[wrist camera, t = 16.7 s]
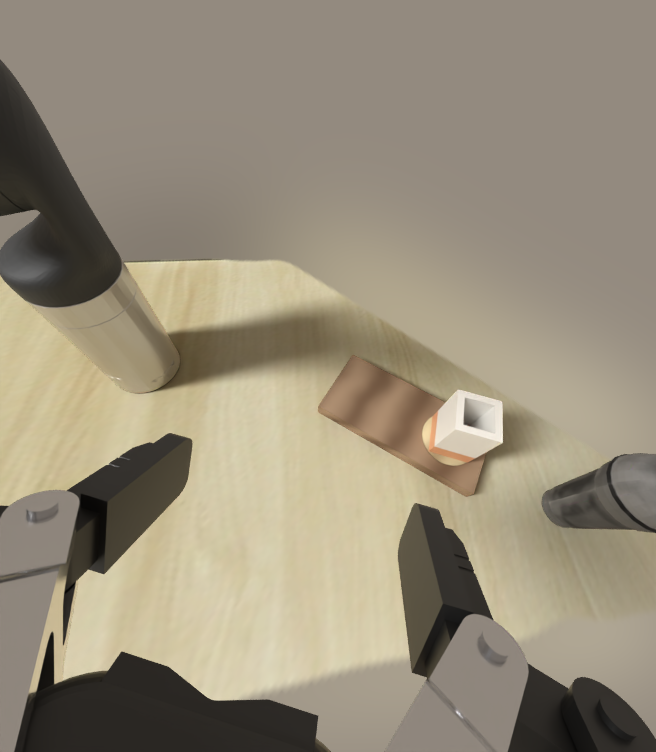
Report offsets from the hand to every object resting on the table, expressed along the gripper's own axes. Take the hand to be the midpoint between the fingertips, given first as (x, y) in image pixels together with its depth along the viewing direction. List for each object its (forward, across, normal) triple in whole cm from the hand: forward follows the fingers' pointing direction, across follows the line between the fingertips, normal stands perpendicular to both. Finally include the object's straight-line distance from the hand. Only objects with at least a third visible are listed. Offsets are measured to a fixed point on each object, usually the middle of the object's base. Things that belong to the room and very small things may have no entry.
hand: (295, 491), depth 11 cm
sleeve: (+30, -16, +8) cm, 35 cm away
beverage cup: (+28, -31, +13) cm, 44 cm away
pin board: (+32, -10, +8) cm, 35 cm away
